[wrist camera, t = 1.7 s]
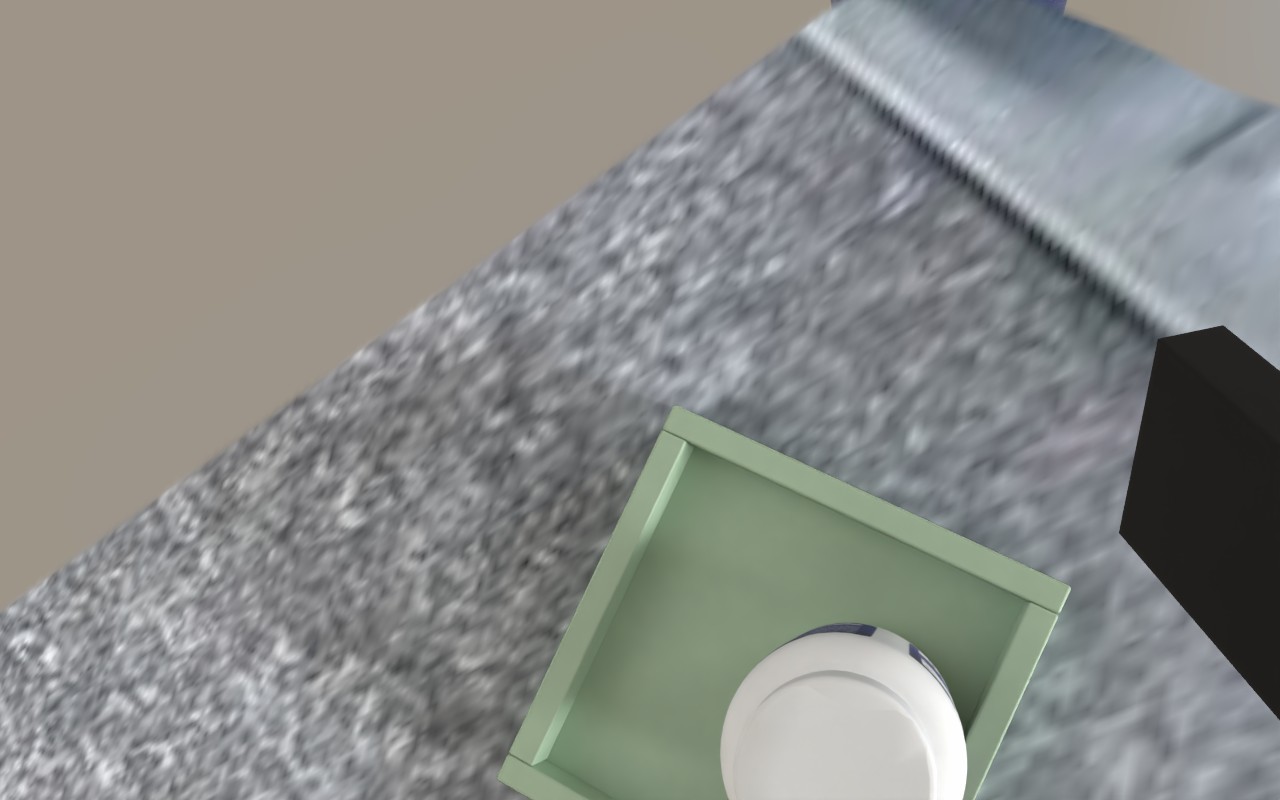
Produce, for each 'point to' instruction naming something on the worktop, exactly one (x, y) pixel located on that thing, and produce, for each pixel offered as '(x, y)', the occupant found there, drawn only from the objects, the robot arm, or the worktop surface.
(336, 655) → the worktop surface
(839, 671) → the pill bottle
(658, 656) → the tray
